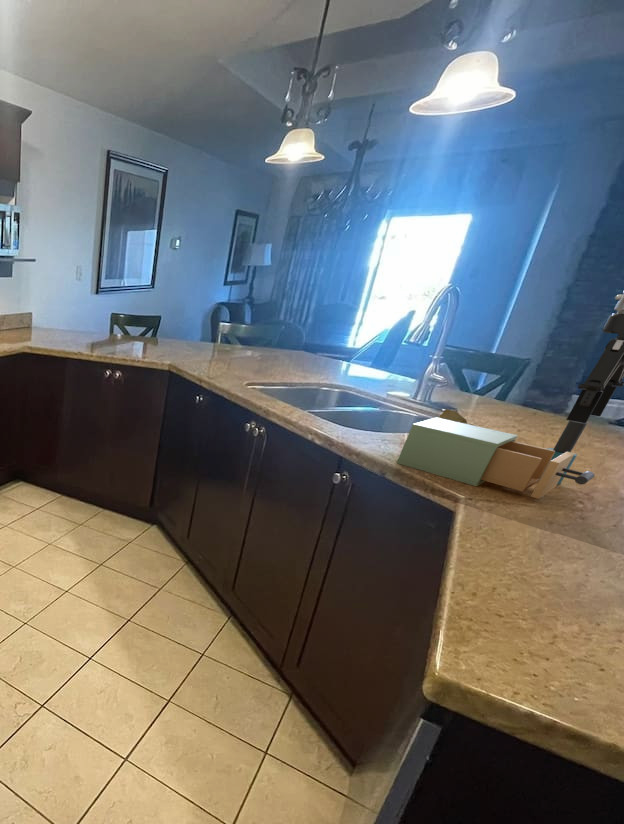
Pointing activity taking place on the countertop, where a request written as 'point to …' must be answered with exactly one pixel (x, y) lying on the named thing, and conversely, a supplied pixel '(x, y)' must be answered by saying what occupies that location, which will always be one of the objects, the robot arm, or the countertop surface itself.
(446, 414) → the rock
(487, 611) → the countertop surface
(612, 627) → the countertop surface
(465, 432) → the cabinet
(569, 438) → the dark grey teal stick
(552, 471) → the drawer
